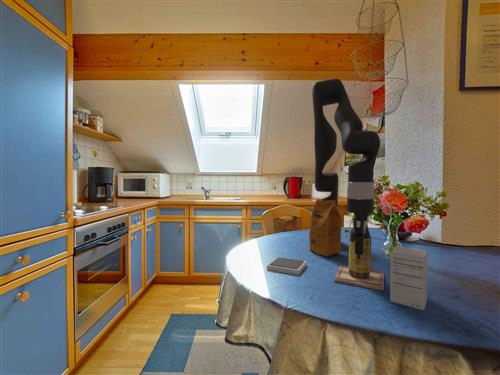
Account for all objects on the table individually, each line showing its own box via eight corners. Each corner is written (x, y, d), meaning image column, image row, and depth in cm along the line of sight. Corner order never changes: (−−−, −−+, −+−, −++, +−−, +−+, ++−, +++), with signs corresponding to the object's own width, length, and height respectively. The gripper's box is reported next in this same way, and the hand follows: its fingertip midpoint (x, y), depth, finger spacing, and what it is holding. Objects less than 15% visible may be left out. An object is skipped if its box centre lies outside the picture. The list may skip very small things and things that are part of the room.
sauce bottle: (357, 280, 75) (357, 213, 74) (344, 272, 81) (344, 210, 80) (375, 277, 76) (376, 211, 75) (361, 269, 82) (362, 209, 81)
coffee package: (323, 247, 113) (323, 198, 112) (344, 254, 102) (345, 200, 101) (305, 250, 109) (305, 198, 108) (325, 258, 98) (325, 201, 97)
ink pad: (277, 261, 95) (277, 256, 95) (306, 265, 90) (306, 260, 90) (266, 269, 86) (266, 264, 86) (298, 275, 81) (298, 269, 81)
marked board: (340, 268, 87) (340, 265, 87) (383, 274, 81) (383, 271, 81) (334, 281, 75) (334, 278, 75) (383, 290, 70) (383, 286, 70)
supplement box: (394, 291, 69) (395, 245, 69) (427, 299, 64) (428, 249, 64) (388, 301, 63) (389, 251, 63) (424, 311, 59) (425, 257, 58)
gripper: (349, 195, 86) (349, 244, 86) (344, 198, 73) (343, 255, 73) (374, 195, 82) (373, 246, 83) (373, 199, 69) (372, 259, 70)
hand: (359, 250), depth 78 cm, fingers open, 6 cm apart
